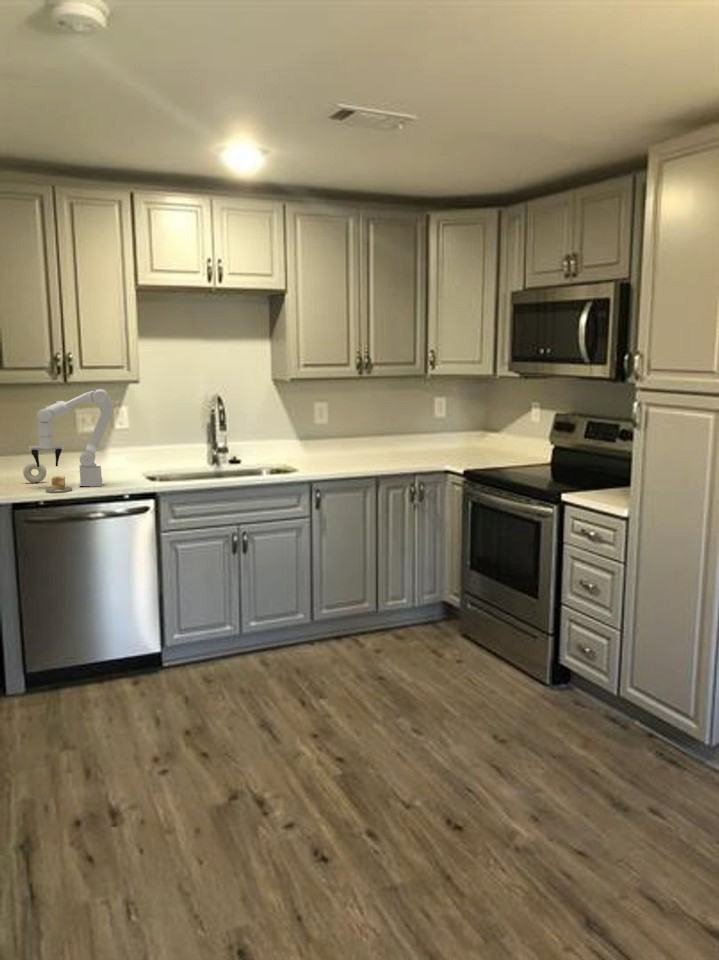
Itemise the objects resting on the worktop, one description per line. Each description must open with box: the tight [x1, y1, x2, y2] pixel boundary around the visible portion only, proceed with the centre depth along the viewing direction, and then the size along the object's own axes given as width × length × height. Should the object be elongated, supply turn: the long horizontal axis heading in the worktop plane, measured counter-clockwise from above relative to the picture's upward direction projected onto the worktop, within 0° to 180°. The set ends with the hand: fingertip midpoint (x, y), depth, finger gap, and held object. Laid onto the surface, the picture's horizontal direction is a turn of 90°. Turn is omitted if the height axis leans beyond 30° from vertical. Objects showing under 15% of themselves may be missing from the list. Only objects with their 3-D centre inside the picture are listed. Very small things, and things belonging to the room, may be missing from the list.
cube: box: [51, 475, 66, 490], centre depth 345 cm, size 5×5×5 cm
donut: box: [22, 461, 47, 484], centre depth 366 cm, size 10×3×10 cm, turn 108°
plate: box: [44, 486, 73, 494], centre depth 346 cm, size 11×11×1 cm
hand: (47, 466), depth 353 cm, fingers open, 7 cm apart
